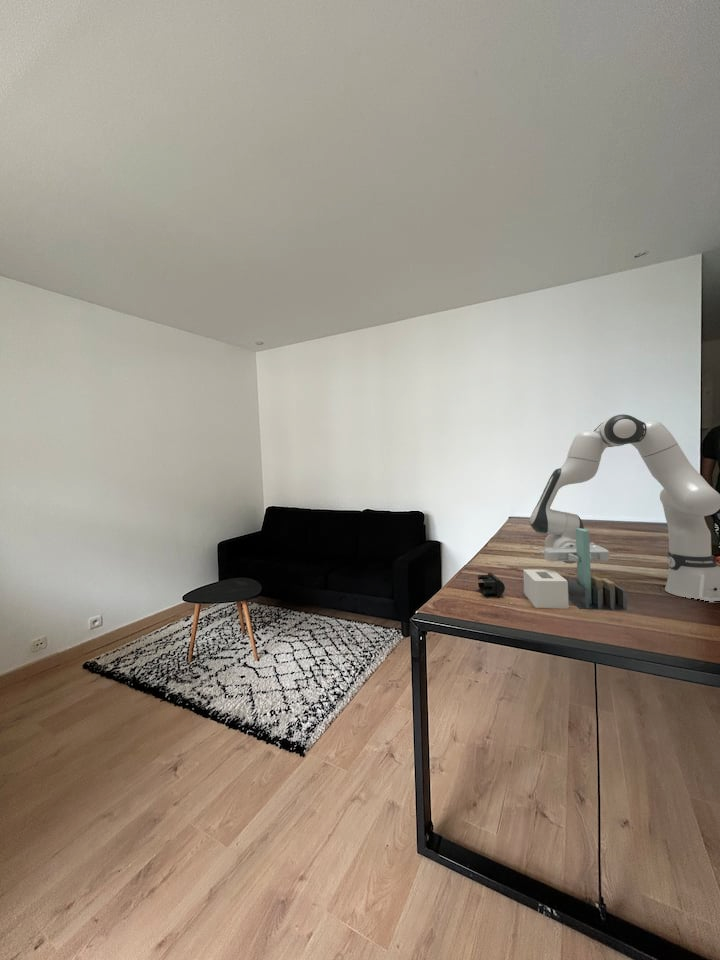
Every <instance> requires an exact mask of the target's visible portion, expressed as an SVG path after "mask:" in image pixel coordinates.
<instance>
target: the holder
mask: <svg viewBox="0 0 720 960" xmlns="http://www.w3.org/2000/svg"><path fill="white" fill-rule="evenodd" d="M522 571H523V594H524V595H525V597H527V599H528V600H529V602H530V603H531V604H532V606H534V608H536V609H569V608H570V606H569V599H568V594H569V581H568V580H567V579H566V578H564V577H563V576H562V575H560V574H559V573H558V572H557V571H555V570H554V569H523V570H522Z"/></svg>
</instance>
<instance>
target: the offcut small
mask: <svg viewBox="0 0 720 960" xmlns="http://www.w3.org/2000/svg"><path fill="white" fill-rule="evenodd" d="M600 579H601V580H603V584H604V585H606V586H608V587H609V588H611V589H612V590H614V605H615V584H616V583H615V582H613V581H611V579H610V580H609V578H606V577H600Z"/></svg>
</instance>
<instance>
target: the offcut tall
mask: <svg viewBox="0 0 720 960" xmlns="http://www.w3.org/2000/svg"><path fill="white" fill-rule="evenodd" d="M600 578H601V577H600ZM600 578H599V577H598V576H596V575H595V574H591V584H593V585H594V586H596V587H597V588H599V589H600V590H601V602H602V605H603V580H601V579H600Z"/></svg>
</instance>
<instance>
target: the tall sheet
mask: <svg viewBox="0 0 720 960" xmlns="http://www.w3.org/2000/svg"><path fill="white" fill-rule="evenodd" d="M589 542H590V530H588V529H582V528H576V552H577V556H580V557H581V562H576V572H577V577H576V579H577V582H578V583H580V584H581V585H582V586H584V587H585V588H587V589H588V590H589V604H592V600H591V575H592V574H591V562H590V544H589Z"/></svg>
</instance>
